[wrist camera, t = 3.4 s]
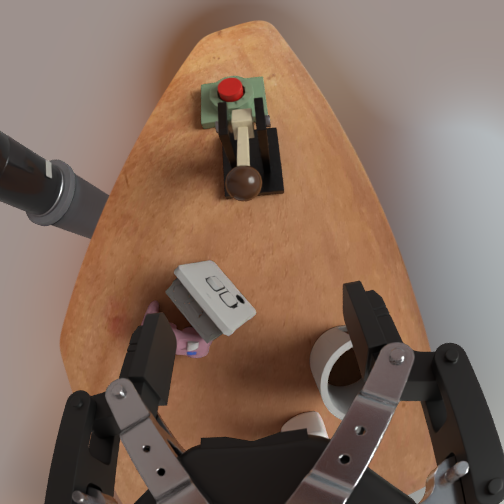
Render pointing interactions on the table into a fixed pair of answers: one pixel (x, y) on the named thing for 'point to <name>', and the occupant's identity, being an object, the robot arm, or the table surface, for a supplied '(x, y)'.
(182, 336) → the video game controller
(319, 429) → the eye dropper bottle
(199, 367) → the table surface
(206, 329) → the electrical switch
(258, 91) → the button block
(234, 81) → the button
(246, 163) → the lever
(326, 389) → the cup
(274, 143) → the bracket
